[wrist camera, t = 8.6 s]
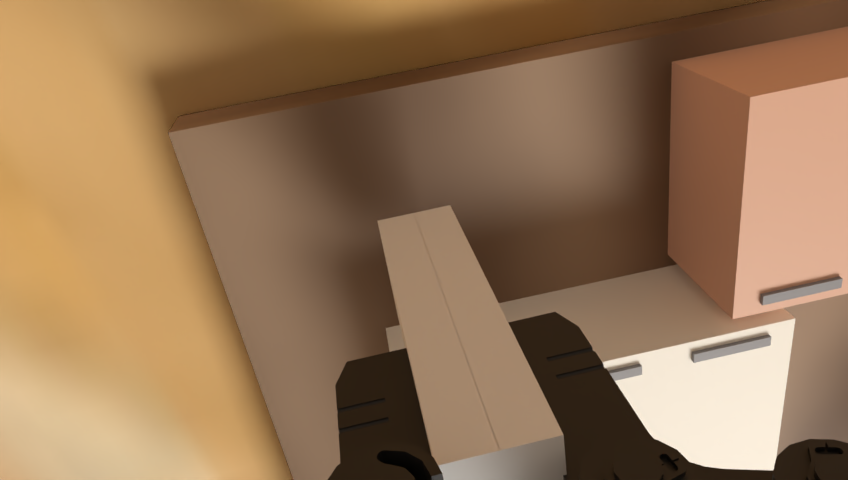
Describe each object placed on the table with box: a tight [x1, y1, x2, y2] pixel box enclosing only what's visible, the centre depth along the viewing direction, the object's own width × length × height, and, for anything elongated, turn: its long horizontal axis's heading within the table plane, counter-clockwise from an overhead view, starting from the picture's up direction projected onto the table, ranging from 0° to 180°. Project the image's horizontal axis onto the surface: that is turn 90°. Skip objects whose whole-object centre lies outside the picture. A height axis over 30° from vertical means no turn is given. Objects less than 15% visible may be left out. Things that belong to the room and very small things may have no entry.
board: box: [168, 0, 848, 480], centre depth 18 cm, size 22×17×3 cm
